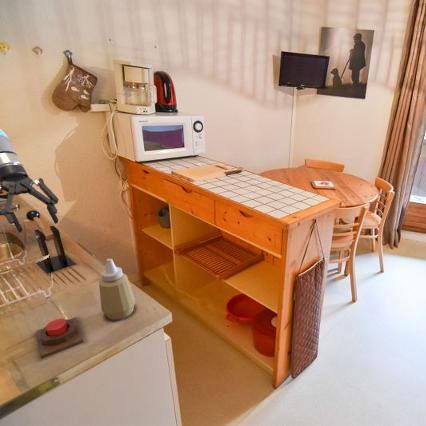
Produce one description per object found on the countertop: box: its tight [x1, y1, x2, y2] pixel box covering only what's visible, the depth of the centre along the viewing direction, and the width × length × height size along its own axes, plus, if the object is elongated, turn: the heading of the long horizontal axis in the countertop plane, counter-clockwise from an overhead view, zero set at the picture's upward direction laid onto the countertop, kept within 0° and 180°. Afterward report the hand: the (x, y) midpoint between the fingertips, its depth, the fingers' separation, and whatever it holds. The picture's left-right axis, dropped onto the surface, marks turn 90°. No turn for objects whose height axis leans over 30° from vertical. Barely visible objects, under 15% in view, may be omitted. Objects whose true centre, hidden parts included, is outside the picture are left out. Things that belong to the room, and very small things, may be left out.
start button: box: [45, 318, 68, 336], centre depth 78 cm, size 4×4×2 cm
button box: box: [36, 316, 84, 359], centre depth 79 cm, size 10×8×4 cm
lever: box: [25, 209, 54, 242], centre depth 105 cm, size 14×4×4 cm, turn 55°
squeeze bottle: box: [98, 257, 136, 321], centre depth 86 cm, size 8×8×18 cm
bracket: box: [33, 225, 77, 275], centre depth 105 cm, size 10×8×14 cm
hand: (39, 226), depth 106 cm, fingers open, 9 cm apart
